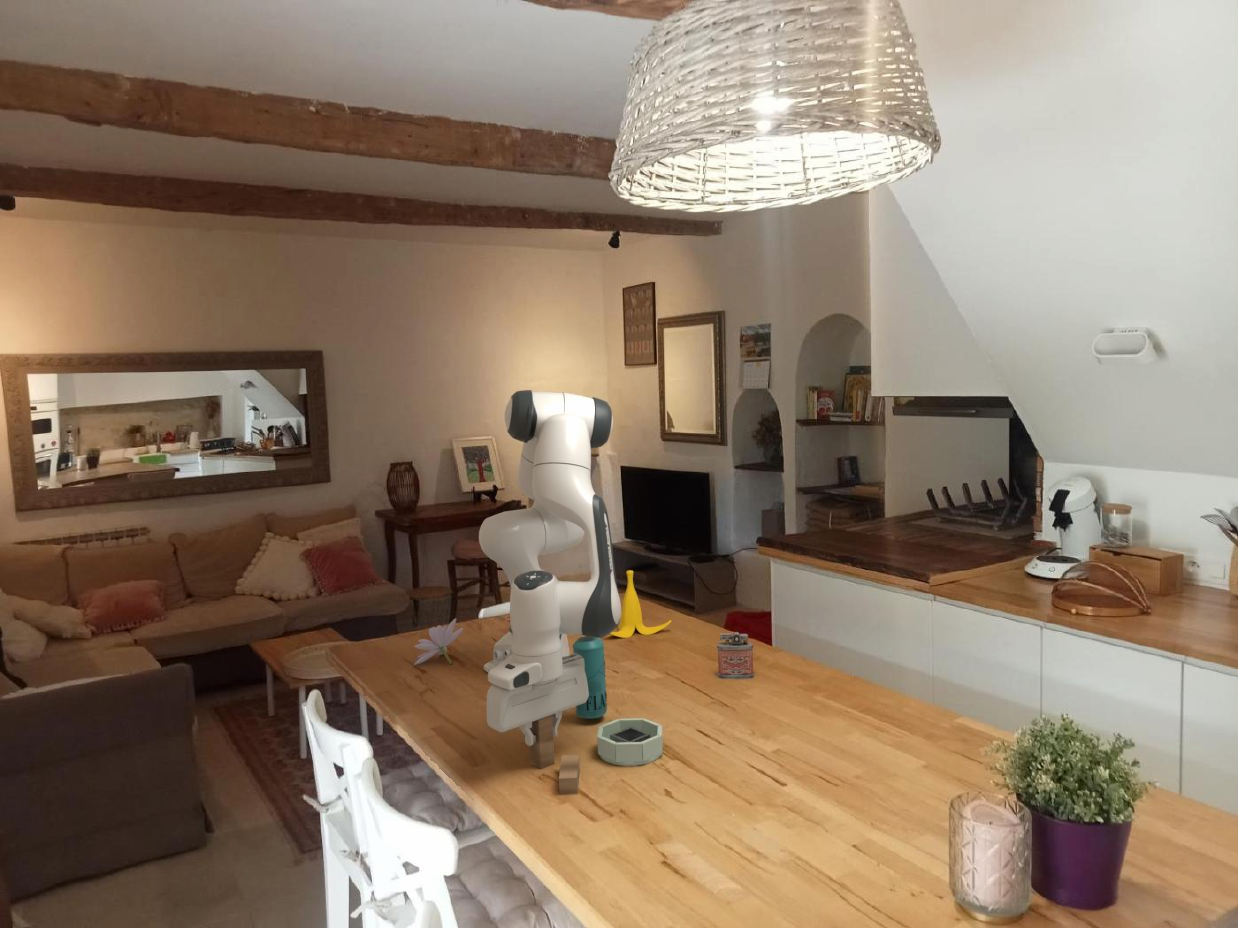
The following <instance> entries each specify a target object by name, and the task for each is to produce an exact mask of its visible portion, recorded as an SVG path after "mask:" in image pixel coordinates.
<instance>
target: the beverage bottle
mask: <svg viewBox="0 0 1238 928" xmlns="http://www.w3.org/2000/svg"><path fill="white" fill-rule="evenodd" d="M604 646H605V644H604V642H603V641H602V640H601V638H597V637H590V636H584V635H583V636H581V637H578V638H577V639H576V640H575V641H574V642H573V644H572V650H573V651H572V654H574V653H577V654H578V655H581V656H582V657H583V659H584V664H585V673H586V678H587V683H588V691H589V697H588V699H587V701H586V702H585V703H583V704H580V705H578V706H575V713H576V715H577V716H578V717H579V718H582V719H597V718H601V717H603V716H605V715H606V714H607V710H608V702H607V701H608V695H607V691H608V690H607V680H606V661H605V651H604V649H605V647H604ZM578 658H579V657H578Z"/></svg>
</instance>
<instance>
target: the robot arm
mask: <svg viewBox="0 0 1238 928" xmlns="http://www.w3.org/2000/svg"><path fill="white" fill-rule="evenodd" d="M613 417H614V416H613V411H612V408H611V406H610V405H609V403H608V401H606V400H604V399H601V398H599V397H598V398H597V397H594V396H593V397H588V396H584V395H580V394H576V393H571V392H563V391H562V392H556V391H555V392H554V391H553V392H552V391H532V389H524V390H517V391H515V392H514V393H513V394H512V395H510V399H509V401H508V402H507V404H506V406H505V410H504V423H505V427H506V431H507V433H508V435H509V436H510V437H511V438H512V439H514V440H517V441H518V442H519V441H520V442H522V449H521V452H520V453H521V454H520V460H519V466H518V471H517V472H518V473H517V479H516V481H517V482H516V483H517V485H518V488H519V490H520V492H522V493H523V494H524V495H525V496H526V497H527V498H529V499H531V500H533V504H532V506H531V507H528V508H522V509H514V510H507V511H503V512H500V513H496V514H494V515H492V516H489V517H486V518H485V519H484V520H483V522H482V524H481V525H480V528H479V531H478V542H479V546H480V547H481V550H482V552H483V553H484V555H485V556H486V557H487V558H489V559H490V560H491V561H494V562H495V563H496V564H497V565H498V566H500V568H501V569H502V570H503V572H504V574H505V575H506V577H507V580H508V582H509V586H510V595H509V597H510V598H509V616H507V618H506V619H507V621H506V622H507V623H509V628H508V632H507V633H506V634H504V635H503V636H502V637H501V638H500V639H499V640H498V641H496V642H495V644H494V645H493V654H492V656H493V660H491V661H488V662H487V663H485V664H484V665H483V671H485V672H487V680H488V682H489V683H491V685H490V687H488V690H487V693H486V722H487V725H488V726H489V727H490V728H491V729H492V730H493V731H496V732H498V733H505V732H508V731H510V730H514V729H516V728H519V729H520V731H521V732H522V733H523V735H524V742H525V745H526V746H529V747H530V746H532V745H534V744H537V743H538V740H537V734H534V733H533V732H531V730H530V729H529V728H531V727H532V722H533V721H536V720H539V719H541V718H544V717H547V716H550V715H552V719H553V738H555V737H557V736H558V727H559V724H560V722H561V720H562V717H563V712H564V711H566V710H569V709H572V708H576V706H578V705H580V704H583V703H585V702H586V701H587V699H588V697H589V691H588V683H587V678H586V673H585V664H584V659H583V657H582V656H581V655H578V654H577V653H574V654H573V653H570V648H569V641H568V635H575V636H577V635H578V636H579V635H580V636H583V637H584V636H590V637H597V638H599V639H604V638H605V637H608V635H609V634H610V633H611V632H614V630H616V629H617V627H618V625H619V623H620V619H621V611H622V603H621V598H620V594H619V588H618V583H617V575H616V567H615V560H614V549H613V543H612V542H613V541H612V534H611V527H610V520H609V514H608V510H607V506H606V503H605V501H604V499H603V498H602V497H601V496H600V495H597V493H595V491H594V488H593V484H592V479H591V472H592V471H591V467H592V451H591V449H596V448H601V447H603V446H604V445H605V444H607V443H608V441H609V438H610V436H611V434H612V432H613V428H614V418H613ZM584 536H586V542H587V549H588V560H589V568H590V569H589V570H590V578H589V580H588V581H570V580H569V581H565V580H564V581H562V580H559V579H558V578H557V577H556V575H554V574H553V573H551V572H549V571H547V570H544V569H542V568H541V567H540V563H539V561H538V560H539V559H538V558H539V556H543V555H544V556H545V555H549V554H555V553H561V552H564V551H567V550H569V549H572V548H574V547H575V546H578V545H580V544H581V542H583V539H584V538H585V537H584ZM578 657H579V658H578Z"/></svg>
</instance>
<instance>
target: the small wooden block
mask: <svg viewBox="0 0 1238 928" xmlns="http://www.w3.org/2000/svg"><path fill="white" fill-rule="evenodd" d="M580 764H581V763H580V754H562V755H561V761H560V766H559V767H560V768H559V776H558V790H559V791H558V792H559V795H577V794H579V793H578V792H579V784H580V782H579V781H580V771H581V770H580V769H581V768H580Z"/></svg>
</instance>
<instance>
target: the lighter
mask: <svg viewBox="0 0 1238 928" xmlns="http://www.w3.org/2000/svg"><path fill="white" fill-rule="evenodd" d="M748 637H749V635H748V634H747V633H739V632H738V631H735V632H733V633H731V632H730V633H726V632H725V633H720V634H719V640H720V641H724V642H718V643H717V644H716V648H717V664H718V665H717V666H718V669H717V670H718V672H717V679H721V680H750V679H753V678H755V671H754V655H753V654H754V653H753V652H754V650H753V649H754V643H753V642H748V639H749V638H748Z"/></svg>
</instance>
